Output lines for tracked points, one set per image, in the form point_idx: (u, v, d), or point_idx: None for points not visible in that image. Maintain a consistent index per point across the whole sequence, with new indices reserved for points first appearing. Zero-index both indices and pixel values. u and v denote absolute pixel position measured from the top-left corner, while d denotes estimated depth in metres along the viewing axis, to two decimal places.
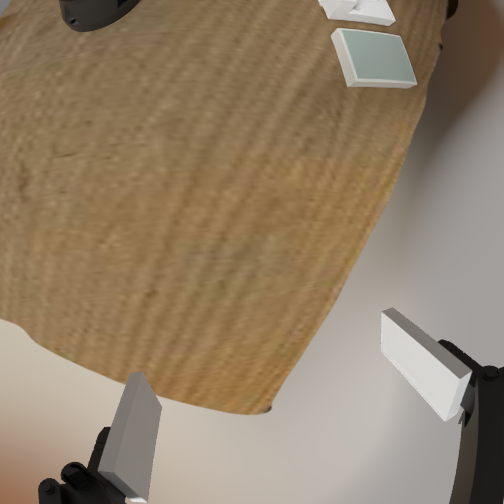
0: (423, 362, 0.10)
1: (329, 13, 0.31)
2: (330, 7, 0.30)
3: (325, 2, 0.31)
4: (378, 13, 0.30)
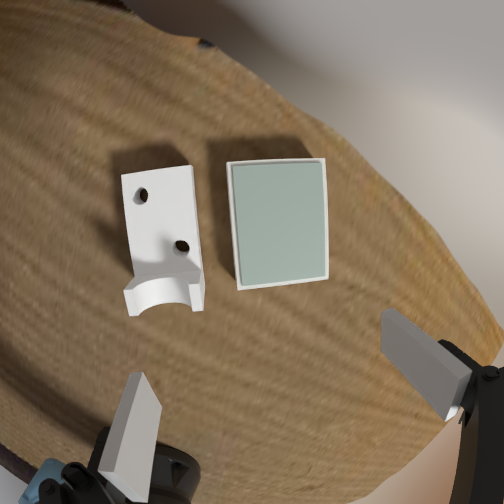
0: (423, 362, 0.10)
1: None
2: None
3: None
4: (182, 203, 0.26)
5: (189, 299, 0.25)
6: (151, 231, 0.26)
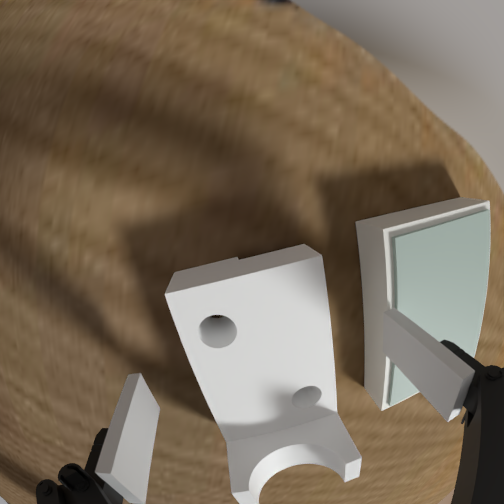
0: (426, 362, 0.10)
1: None
2: None
3: None
4: (310, 331, 0.13)
5: (334, 465, 0.12)
6: (251, 385, 0.13)
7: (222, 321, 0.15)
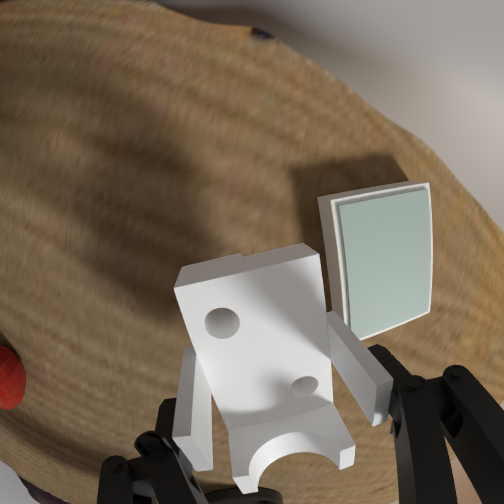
0: (351, 365, 0.11)
1: None
2: None
3: None
4: (307, 324, 0.14)
5: (329, 453, 0.14)
6: (252, 374, 0.14)
7: (226, 314, 0.16)
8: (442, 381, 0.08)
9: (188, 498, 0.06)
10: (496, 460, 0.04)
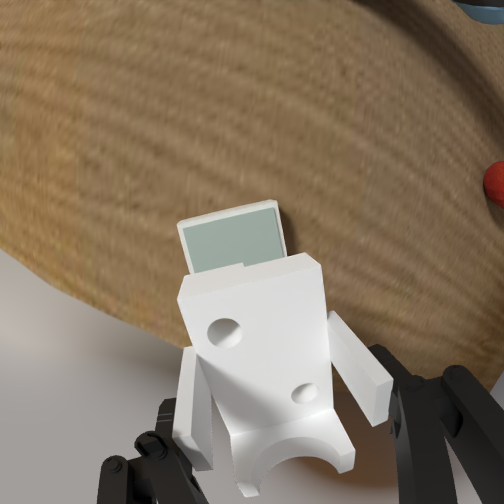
0: (351, 365, 0.11)
1: None
2: None
3: None
4: (309, 333, 0.14)
5: (330, 458, 0.14)
6: (254, 381, 0.15)
7: (228, 323, 0.16)
8: (442, 381, 0.08)
9: (188, 498, 0.06)
10: (496, 460, 0.04)
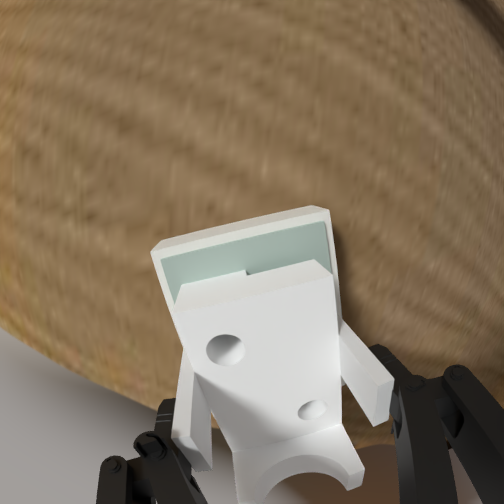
0: (352, 365, 0.11)
1: None
2: None
3: None
4: (318, 349, 0.13)
5: (337, 475, 0.12)
6: (258, 399, 0.13)
7: (229, 335, 0.15)
8: (443, 381, 0.08)
9: (187, 498, 0.06)
10: (497, 460, 0.04)
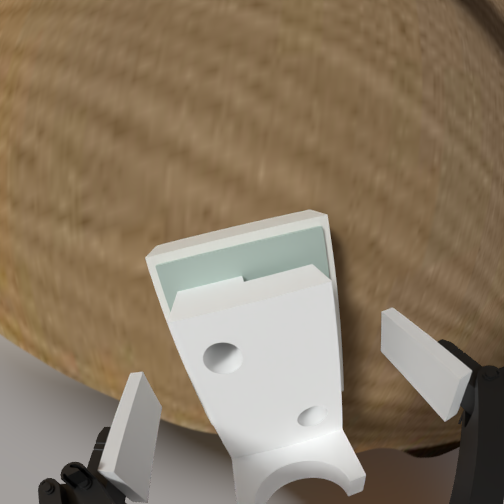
0: (423, 362, 0.10)
1: None
2: None
3: None
4: (317, 356, 0.12)
5: (338, 480, 0.12)
6: (257, 407, 0.13)
7: (227, 342, 0.15)
8: None
9: None
10: None
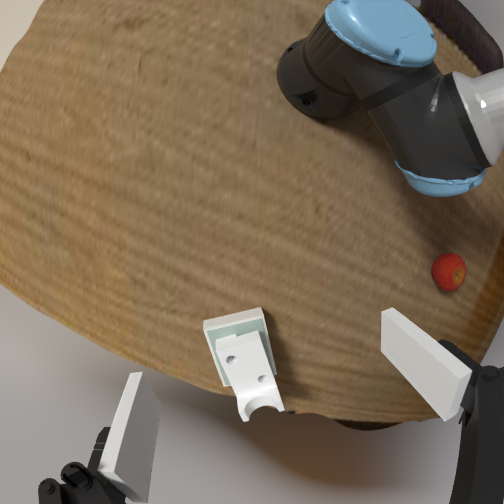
0: (423, 362, 0.10)
1: None
2: None
3: None
4: (259, 358, 0.42)
5: (275, 405, 0.41)
6: (243, 374, 0.42)
7: None
8: None
9: None
10: None
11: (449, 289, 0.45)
